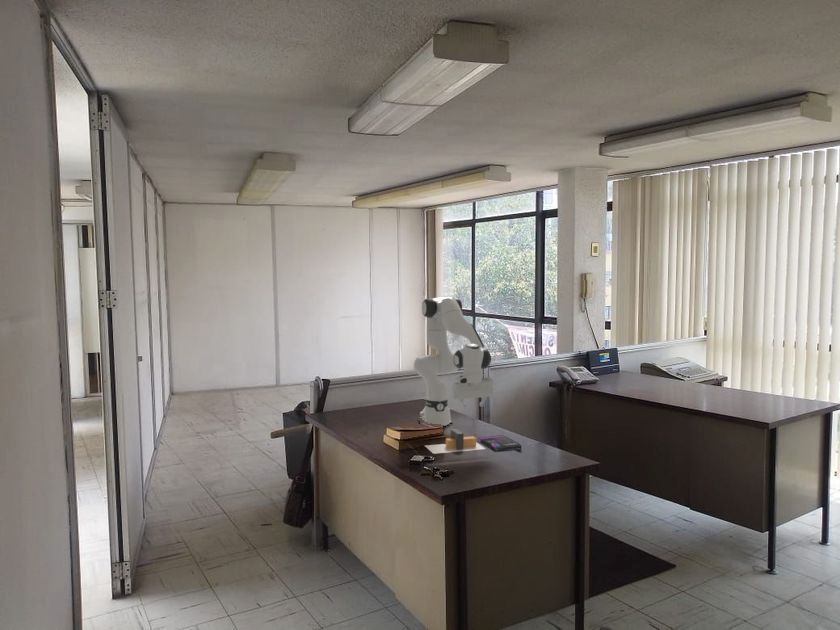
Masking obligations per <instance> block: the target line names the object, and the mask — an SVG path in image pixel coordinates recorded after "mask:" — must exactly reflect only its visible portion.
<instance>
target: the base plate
mask: <svg viewBox="0 0 840 630" xmlns="http://www.w3.org/2000/svg"><path fill="white" fill-rule="evenodd" d="M424 447H425V448H427V450H429V451H430V452H431V453H432V454H448V453H453V452H454V453H458V452H469V451H478V450H486V448H485V447H484V446H483V445H481V444H479V443H478V442H477V441H476V447H466V448H463V449H456V448H455V449H448V448H446V443H439V444H430V445H429V444H428V445H424Z"/></svg>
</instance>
